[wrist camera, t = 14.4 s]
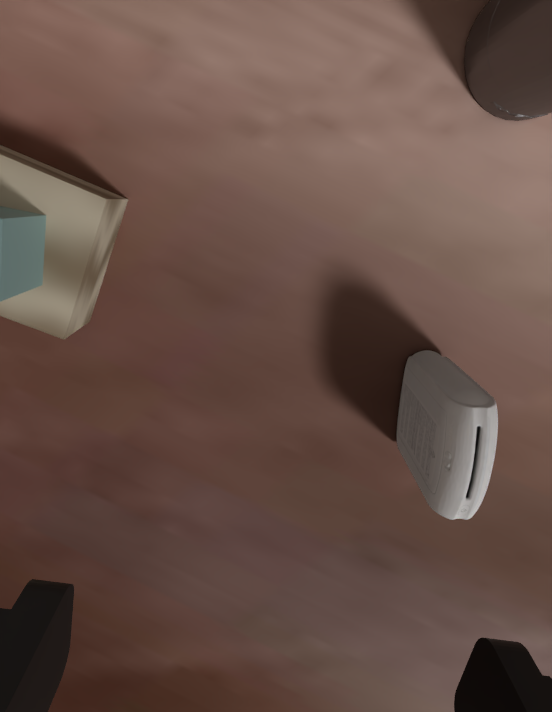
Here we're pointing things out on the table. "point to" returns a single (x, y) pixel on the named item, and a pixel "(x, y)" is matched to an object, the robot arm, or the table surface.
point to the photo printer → (446, 434)
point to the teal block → (21, 251)
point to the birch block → (61, 242)
